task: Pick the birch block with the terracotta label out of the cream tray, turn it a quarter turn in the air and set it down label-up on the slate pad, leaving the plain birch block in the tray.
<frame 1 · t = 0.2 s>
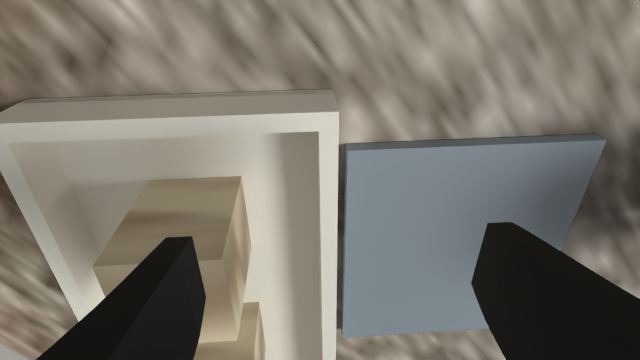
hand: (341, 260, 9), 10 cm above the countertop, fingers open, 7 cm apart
plain block: (227, 327, 24), point 1 cm above the countertop, touching parts tray
parts tray: (218, 270, 22), on the countertop
labelled block: (203, 215, 19), point 1 cm above the countertop, touching parts tray
slate pad: (450, 244, 22), on the countertop
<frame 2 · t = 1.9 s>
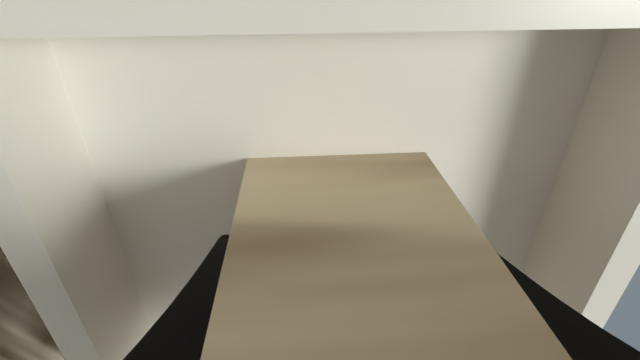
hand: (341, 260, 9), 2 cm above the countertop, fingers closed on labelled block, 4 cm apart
parts tray: (332, 316, 13), on the countertop
labelled block: (336, 226, 10), point 1 cm above the countertop, touching gripper, parts tray
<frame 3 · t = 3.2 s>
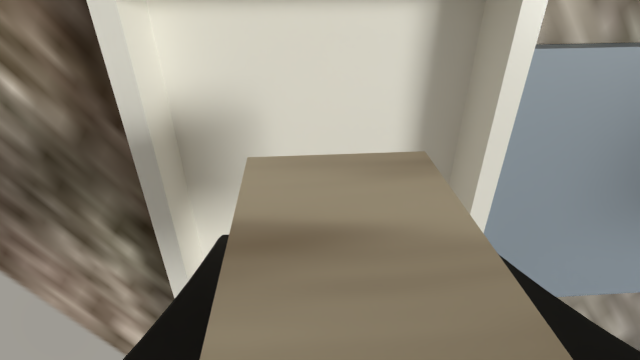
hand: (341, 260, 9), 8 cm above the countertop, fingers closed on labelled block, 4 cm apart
parts tray: (320, 215, 18), on the countertop
labelled block: (335, 225, 10), point 7 cm above the countertop, touching gripper
slate pad: (596, 187, 19), on the countertop
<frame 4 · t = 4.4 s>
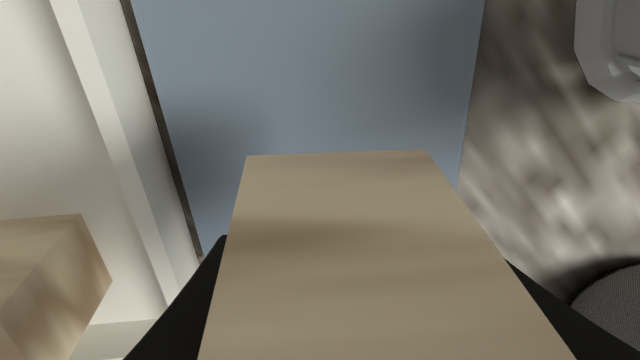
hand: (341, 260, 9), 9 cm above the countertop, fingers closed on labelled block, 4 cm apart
smart speaker: (614, 298, 25), on the countertop
plain block: (53, 253, 19), point 1 cm above the countertop, touching parts tray
parts tray: (19, 170, 17), on the countertop
labelled block: (335, 224, 10), point 7 cm above the countertop, touching gripper
slate pad: (319, 126, 17), on the countertop
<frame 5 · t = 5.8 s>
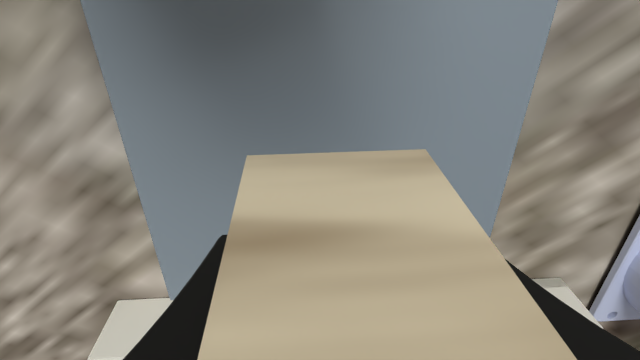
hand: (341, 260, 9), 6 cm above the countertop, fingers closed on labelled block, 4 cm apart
labelled block: (335, 224, 10), point 4 cm above the countertop, touching gripper
slate pad: (325, 156, 14), on the countertop
when the fingers open (3 cm above the countertop, at t = 6.8 s): labelled block drops 1 cm, resting on slate pad.
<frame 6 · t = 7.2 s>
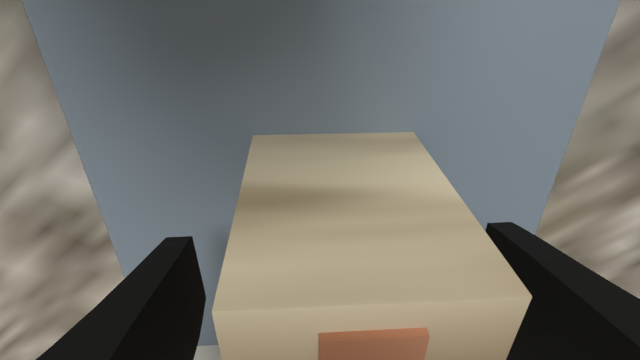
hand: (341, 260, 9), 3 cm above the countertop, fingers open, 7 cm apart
labelled block: (332, 200, 11), point 1 cm above the countertop, touching slate pad
slate pad: (330, 189, 12), on the countertop
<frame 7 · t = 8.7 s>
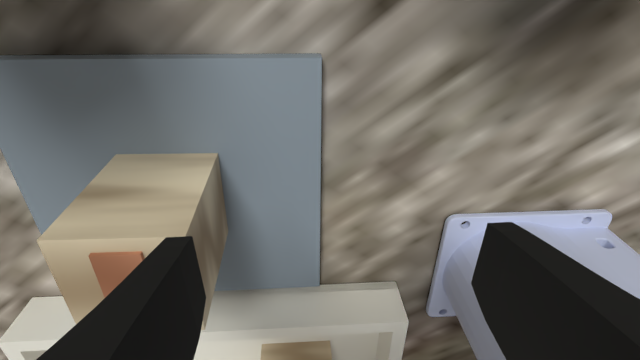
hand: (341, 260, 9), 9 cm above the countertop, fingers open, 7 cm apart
parts tray: (232, 358, 26), on the countertop
labelled block: (176, 195, 18), point 1 cm above the countertop, touching slate pad
slate pad: (180, 188, 19), on the countertop
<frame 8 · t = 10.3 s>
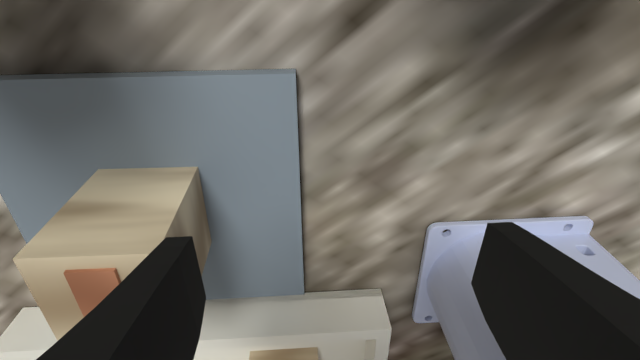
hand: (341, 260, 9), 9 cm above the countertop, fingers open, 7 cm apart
labelled block: (158, 208, 18), point 1 cm above the countertop, touching slate pad
slate pad: (164, 200, 19), on the countertop
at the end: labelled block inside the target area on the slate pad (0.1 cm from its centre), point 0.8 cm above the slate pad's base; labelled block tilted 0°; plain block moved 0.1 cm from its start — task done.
